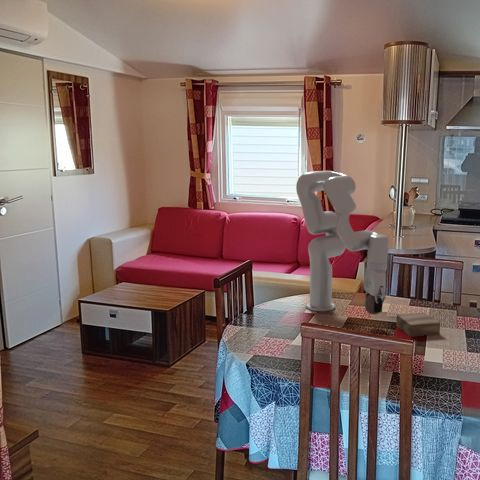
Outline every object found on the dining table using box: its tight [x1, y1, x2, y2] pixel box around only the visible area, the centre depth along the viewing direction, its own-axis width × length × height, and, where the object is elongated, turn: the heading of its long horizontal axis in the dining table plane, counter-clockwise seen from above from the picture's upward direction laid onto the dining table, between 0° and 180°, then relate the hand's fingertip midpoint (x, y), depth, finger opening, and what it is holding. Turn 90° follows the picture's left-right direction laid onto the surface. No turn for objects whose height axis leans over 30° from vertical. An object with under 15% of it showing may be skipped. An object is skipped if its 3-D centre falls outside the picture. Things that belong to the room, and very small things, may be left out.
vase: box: [364, 294, 383, 315], centre depth 215 cm, size 7×7×9 cm
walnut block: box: [395, 312, 441, 338], centre depth 212 cm, size 12×12×5 cm
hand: (373, 308), depth 216 cm, fingers closed on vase, 6 cm apart
